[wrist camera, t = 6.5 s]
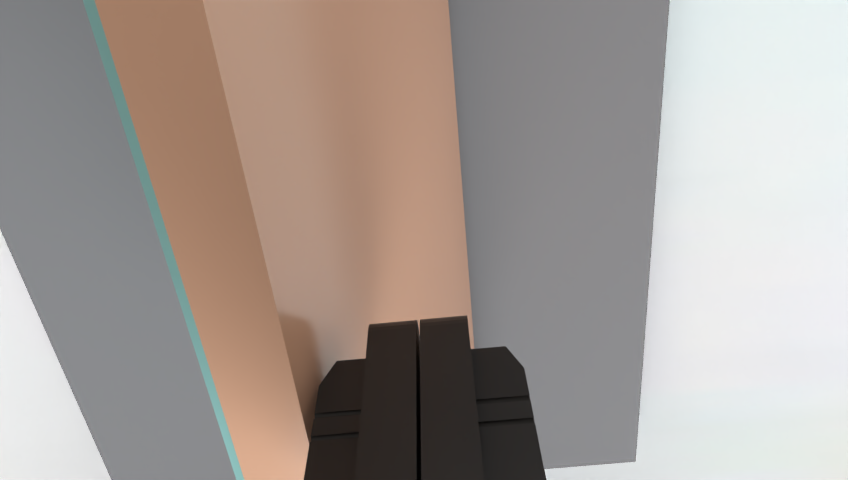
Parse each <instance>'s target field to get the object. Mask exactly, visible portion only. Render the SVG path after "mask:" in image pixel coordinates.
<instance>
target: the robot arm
mask: <svg viewBox="0 0 848 480" xmlns="http://www.w3.org/2000/svg"><path fill="white" fill-rule="evenodd" d="M314 414H315V419H313V425H312V431H311V442H310V443H309V450H308V456H307V462H306V468H305V474H304V480H546V476H545V471H544V466H543V461H542V456H541V451H540V446H539V441H538V435H537V430H536V425H535V422H534V415H533V410H532V405H531V400H530V394H529V389H528V384H527V379H526V374H525V369H524V367H523V366H522V365H521V364H520V362H519V361H518V360H517V359H516V358H515V356H514V355H513V354H512V353H511V352H510V351H509V349H508V348H507V347H506V346H501V347H489V348H478V349H471V347H470V337H469V328H468V318H467V315H465V316H454V317H442V318H431V319H420V334H419V327H418V322H417V320H411V321H399V322H388V323H377V324H369V327H368V336H367V348H366V358H364V359H352V360H341V361H336V362H335V364H334V365H333V367H332V368H331V369H330V371H329V372H328V374H327V375H326V376H325V378H324V379H323V381H322V382H321V383H320V385H319V388H318V394H317V400H316V407H315V413H314Z"/></svg>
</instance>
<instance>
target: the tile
mask: <svg viewBox="0 0 848 480" xmlns="http://www.w3.org/2000/svg"><path fill="white" fill-rule="evenodd" d="M83 3H84V6H85V9H86V12H87V15H88V19H89V22H90V25H91V28H92V31H93V34H94V37H95V40H96V43H97V47H98V50H99V53H100V56H101V59H102V62H103V65H104V68H105V72H106V75H107V78H108V81H109V84H110V87H111V90H112V93H113V97H114V100H115V103H116V106H117V109H118V112H119V115H120V118H121V122H122V125H123V128H124V131H125V134H126V137H127V140H128V143H129V146H130V150H131V153H132V156H133V159H134V162H135V165H136V168H137V171H138V175H139V178H140V181H141V184H142V187H143V190H144V193H145V196H146V200H147V203H148V206H149V209H150V212H151V215H152V218H153V221H154V224H155V228H156V231H157V234H158V237H159V240H160V243H161V246H162V249H163V253H164V256H165V259H166V262H167V265H168V268H169V271H170V274H171V278H172V281H173V284H174V287H175V290H176V293H177V296H178V299H179V302H180V306H181V309H182V312H183V315H184V318H185V321H186V324H187V327H188V331H189V334H190V337H191V340H192V343H193V346H194V349H195V352H196V356H197V359H198V362H199V365H200V368H201V371H202V374H203V377H204V380H205V384H206V387H207V390H208V393H209V396H210V399H211V402H212V405H213V409H214V412H215V415H216V418H217V421H218V424H219V427H220V430H221V434H222V437H223V440H224V443H225V446H226V449H227V452H228V455H229V458H230V462H231V465H232V468H233V471H234V474H235V477H236V480H304V474H305V468H306V462H307V456H308V450H309V443H310V442H311V431H312V425H313V419H315V414H314V413H315V407H316V400H317V394H318V388H319V385H320V383H321V382H322V381H323V379H324V378H325V376H326V375H327V374H328V372H329V371H330V369H331V368H332V367H333V365H334V364H335V362H336V361H341V360H352V359H364V358H366V348H367V336H368V327H369V324H377V323H388V322H399V321H411V320H417V322H418V327H419V334H420V319H431V318H442V317H454V316H465V315H467V318H468V328H469V337H470V347H471V349H474V337H473V324H472V310H471V297H470V284H469V270H468V257H467V244H466V230H465V217H464V204H463V190H462V177H461V164H460V151H459V137H458V124H457V111H456V97H455V84H454V71H453V57H452V44H451V31H450V17H449V4H448V0H83Z"/></svg>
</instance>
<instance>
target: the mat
mask: <svg viewBox="0 0 848 480" xmlns="http://www.w3.org/2000/svg"><path fill="white" fill-rule="evenodd" d="M448 4H449V17H450V31H451V44H452V57H453V71H454V84H455V97H456V111H457V124H458V137H459V151H460V164H461V177H462V190H463V204H464V217H465V230H466V244H467V257H468V270H469V284H470V297H471V310H472V324H473V337H474V349H478V348H489V347H501V346H506V347H507V348H508V349H509V351H510V352H511V353H512V354H513V355H514V356H515V358H516V359H517V360H518V361H519V362H520V364H521V365H522V366H523V367H524V369H525V374H526V379H527V384H528V389H529V394H530V400H531V405H532V410H533V415H534V422H535V425H536V430H537V435H538V441H539V446H540V451H541V456H542V461H543V466H544V469H550V468H562V467H574V466H586V465H599V464H611V463H623V462H636V448H637V434H638V421H639V407H640V394H641V380H642V366H643V353H644V339H645V325H646V312H647V298H648V285H649V271H650V257H651V244H652V230H653V217H654V203H655V189H656V176H657V162H658V148H659V135H660V121H661V108H662V94H663V80H664V67H665V53H666V40H667V26H668V12H669V0H448ZM0 229H1V232H2V234H3V236H4V238H5V241H6V243H7V245H8V247H9V250H10V252H11V254H12V256H13V259H14V261H15V263H16V265H17V268H18V270H19V272H20V274H21V277H22V279H23V281H24V283H25V286H26V288H27V290H28V292H29V295H30V297H31V299H32V301H33V304H34V306H35V308H36V310H37V313H38V315H39V317H40V319H41V322H42V324H43V326H44V328H45V331H46V333H47V335H48V337H49V340H50V342H51V344H52V346H53V349H54V351H55V353H56V355H57V358H58V360H59V362H60V364H61V367H62V369H63V371H64V373H65V376H66V378H67V380H68V383H69V385H70V387H71V389H72V392H73V394H74V396H75V398H76V401H77V403H78V405H79V407H80V410H81V412H82V414H83V416H84V419H85V421H86V423H87V425H88V428H89V430H90V432H91V434H92V437H93V439H94V441H95V443H96V446H97V448H98V450H99V452H100V455H101V457H102V459H103V461H104V464H105V466H106V468H107V470H108V473H109V475H110V477H111V479H112V480H236V477H235V474H234V471H233V468H232V465H231V462H230V458H229V455H228V452H227V449H226V446H225V443H224V440H223V437H222V434H221V430H220V427H219V424H218V421H217V418H216V415H215V412H214V409H213V405H212V402H211V399H210V396H209V393H208V390H207V387H206V384H205V380H204V377H203V374H202V371H201V368H200V365H199V362H198V359H197V356H196V352H195V349H194V346H193V343H192V340H191V337H190V334H189V331H188V327H187V324H186V321H185V318H184V315H183V312H182V309H181V306H180V302H179V299H178V296H177V293H176V290H175V287H174V284H173V281H172V278H171V274H170V271H169V268H168V265H167V262H166V259H165V256H164V253H163V249H162V246H161V243H160V240H159V237H158V234H157V231H156V228H155V224H154V221H153V218H152V215H151V212H150V209H149V206H148V203H147V200H146V196H145V193H144V190H143V187H142V184H141V181H140V178H139V175H138V171H137V168H136V165H135V162H134V159H133V156H132V153H131V150H130V146H129V143H128V140H127V137H126V134H125V131H124V128H123V125H122V122H121V118H120V115H119V112H118V109H117V106H116V103H115V100H114V97H113V93H112V90H111V87H110V84H109V81H108V78H107V75H106V72H105V68H104V65H103V62H102V59H101V56H100V53H99V50H98V47H97V43H96V40H95V37H94V34H93V31H92V28H91V25H90V22H89V19H88V15H87V12H86V9H85V6H84V3H83V0H0Z"/></svg>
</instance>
